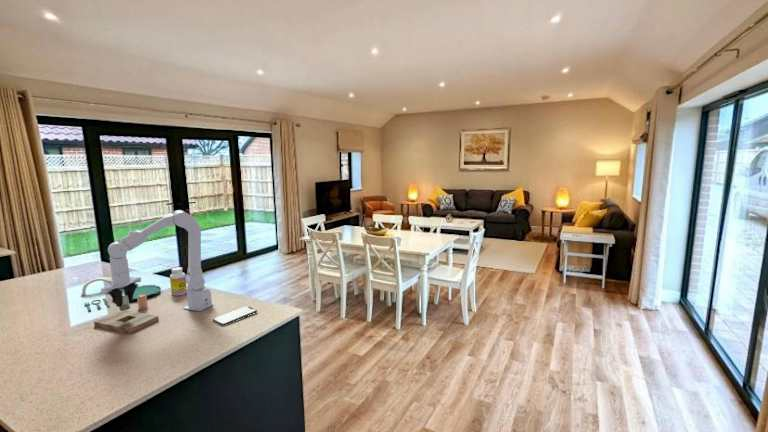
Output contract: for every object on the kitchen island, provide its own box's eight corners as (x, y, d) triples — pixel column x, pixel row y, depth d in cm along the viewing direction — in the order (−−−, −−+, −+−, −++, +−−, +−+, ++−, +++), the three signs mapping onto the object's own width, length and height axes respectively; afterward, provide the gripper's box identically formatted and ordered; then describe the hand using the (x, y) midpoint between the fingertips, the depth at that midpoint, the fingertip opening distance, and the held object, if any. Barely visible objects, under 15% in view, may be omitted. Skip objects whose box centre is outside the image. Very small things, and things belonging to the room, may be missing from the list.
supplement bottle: (180, 296, 176) (177, 271, 174) (168, 295, 177) (165, 270, 175) (190, 291, 182) (187, 266, 180) (178, 290, 184) (176, 266, 182)
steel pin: (132, 307, 147) (130, 293, 146) (123, 311, 144) (121, 296, 143) (126, 306, 149) (124, 292, 148) (117, 310, 145) (115, 295, 144)
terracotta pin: (149, 307, 163) (148, 294, 162) (142, 310, 160) (140, 297, 159) (144, 306, 164) (142, 293, 163) (136, 309, 161) (134, 296, 160)
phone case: (223, 328, 144) (258, 313, 156) (222, 324, 143) (258, 310, 156) (211, 322, 149) (246, 308, 162) (211, 318, 149) (246, 305, 161)
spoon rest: (137, 281, 200) (136, 268, 198) (140, 286, 191) (138, 273, 190) (82, 291, 185) (80, 278, 183) (82, 298, 176) (80, 284, 175)
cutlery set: (165, 295, 178) (165, 290, 178) (88, 315, 157) (87, 310, 157) (155, 286, 192) (155, 281, 192) (83, 303, 171) (82, 298, 171)
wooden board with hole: (158, 320, 150) (158, 316, 149) (130, 333, 139) (129, 329, 138) (124, 314, 156) (123, 309, 156) (94, 326, 145) (93, 321, 145)
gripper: (130, 265, 152) (134, 296, 154) (93, 276, 138) (98, 310, 141) (143, 267, 150) (146, 298, 152) (106, 278, 136) (111, 312, 138)
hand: (124, 304), depth 146 cm, fingers closed on steel pin, 3 cm apart
